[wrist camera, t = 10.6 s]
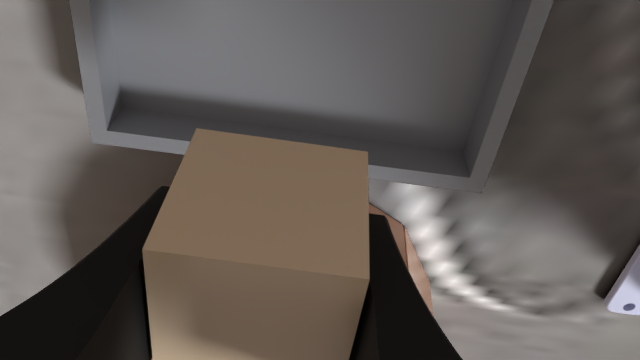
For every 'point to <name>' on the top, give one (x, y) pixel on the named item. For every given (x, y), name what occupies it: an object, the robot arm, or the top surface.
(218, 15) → the parts tray
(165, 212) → the beige cardboard cube
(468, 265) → the top surface
